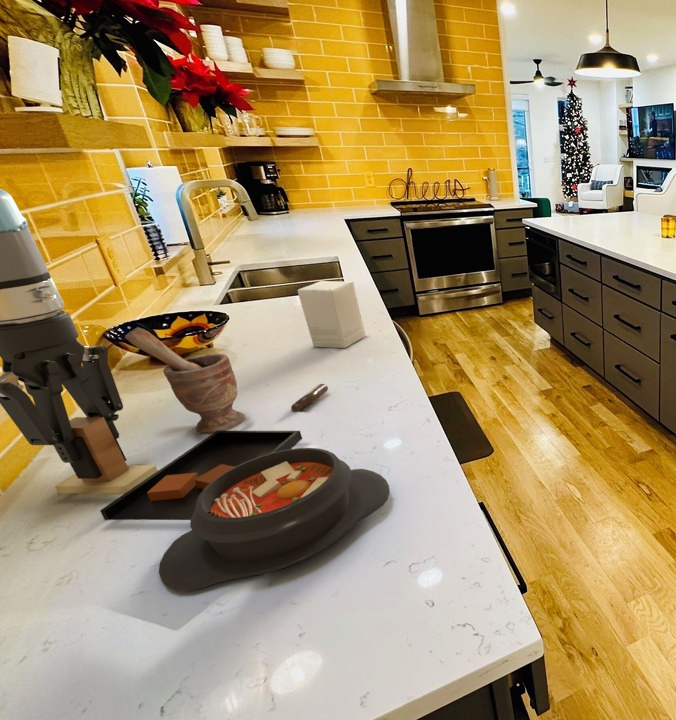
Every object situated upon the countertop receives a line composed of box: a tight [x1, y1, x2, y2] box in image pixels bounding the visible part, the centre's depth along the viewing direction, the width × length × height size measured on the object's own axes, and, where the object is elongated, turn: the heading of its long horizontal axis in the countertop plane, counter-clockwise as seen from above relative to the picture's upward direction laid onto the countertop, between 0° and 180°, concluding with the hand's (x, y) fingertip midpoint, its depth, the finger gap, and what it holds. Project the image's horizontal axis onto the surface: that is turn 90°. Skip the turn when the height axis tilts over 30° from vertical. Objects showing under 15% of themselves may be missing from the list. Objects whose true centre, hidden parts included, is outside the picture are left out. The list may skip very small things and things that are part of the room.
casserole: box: [158, 447, 390, 591], centre depth 64 cm, size 25×19×8 cm
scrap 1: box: [147, 473, 199, 501], centre depth 72 cm, size 4×4×2 cm
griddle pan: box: [99, 383, 329, 521], centre depth 84 cm, size 14×39×3 cm, turn 0°
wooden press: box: [54, 416, 159, 494], centre depth 72 cm, size 10×5×11 cm, turn 90°
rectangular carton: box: [296, 280, 367, 349], centre depth 126 cm, size 9×9×15 cm
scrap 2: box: [194, 464, 234, 489], centre depth 73 cm, size 4×4×2 cm
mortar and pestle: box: [124, 326, 246, 435], centre depth 85 cm, size 12×9×20 cm
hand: (103, 468), depth 73 cm, fingers closed on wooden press, 3 cm apart
